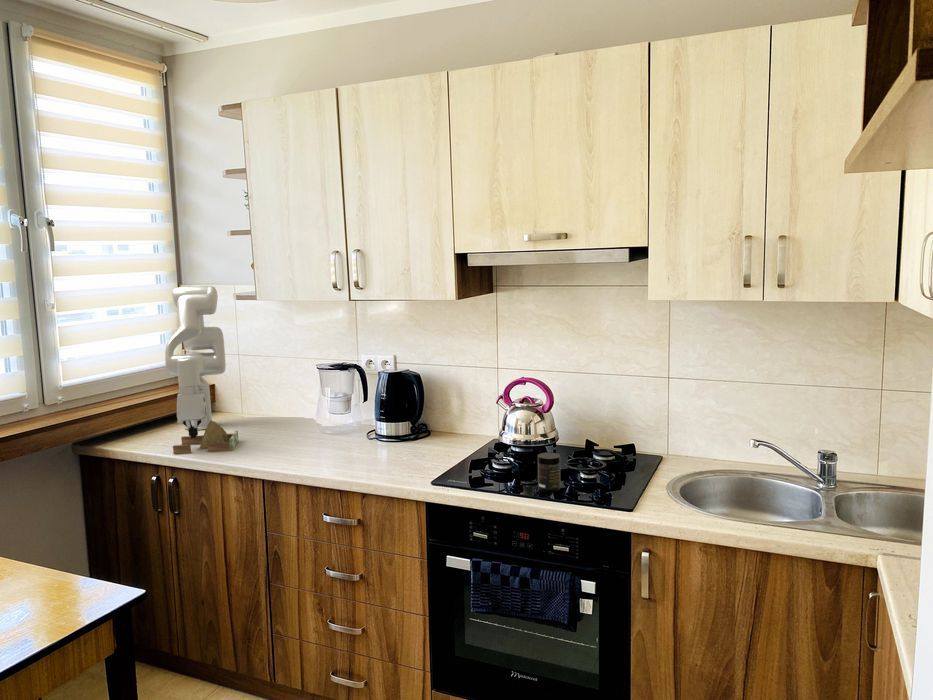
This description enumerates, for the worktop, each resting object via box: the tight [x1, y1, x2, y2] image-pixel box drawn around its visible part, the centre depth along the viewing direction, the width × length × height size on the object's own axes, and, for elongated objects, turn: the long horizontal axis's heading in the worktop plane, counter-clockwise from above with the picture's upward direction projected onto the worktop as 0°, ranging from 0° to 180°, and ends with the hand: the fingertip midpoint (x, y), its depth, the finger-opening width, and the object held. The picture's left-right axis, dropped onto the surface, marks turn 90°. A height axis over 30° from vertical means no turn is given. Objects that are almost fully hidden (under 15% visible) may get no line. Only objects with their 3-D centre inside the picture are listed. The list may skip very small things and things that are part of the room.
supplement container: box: [537, 452, 561, 493], centre depth 213 cm, size 7×7×10 cm
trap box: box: [172, 430, 239, 455], centre depth 273 cm, size 20×21×4 cm
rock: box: [199, 420, 229, 449], centre depth 270 cm, size 11×9×10 cm
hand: (193, 437), depth 269 cm, fingers closed
